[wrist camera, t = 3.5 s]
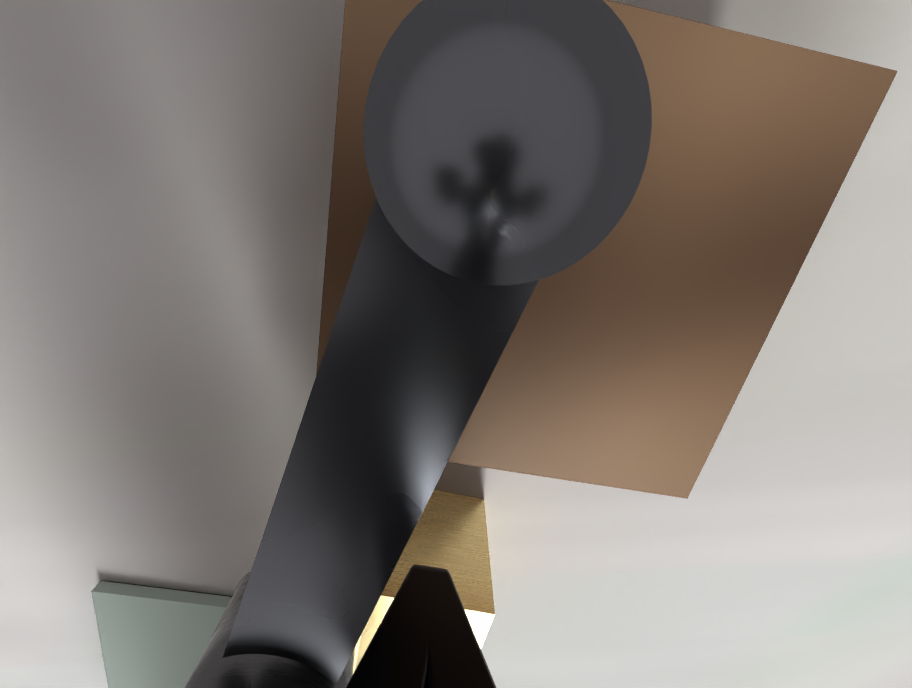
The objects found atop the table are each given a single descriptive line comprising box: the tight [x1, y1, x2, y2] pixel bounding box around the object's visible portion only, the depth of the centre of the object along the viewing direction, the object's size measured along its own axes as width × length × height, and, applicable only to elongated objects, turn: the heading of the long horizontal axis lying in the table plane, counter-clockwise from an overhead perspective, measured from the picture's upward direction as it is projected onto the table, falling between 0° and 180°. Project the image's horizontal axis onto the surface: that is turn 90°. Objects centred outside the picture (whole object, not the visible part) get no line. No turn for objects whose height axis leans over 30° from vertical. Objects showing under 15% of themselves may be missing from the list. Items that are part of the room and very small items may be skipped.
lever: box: [185, 0, 652, 688], centre depth 6 cm, size 11×3×2 cm, turn 157°
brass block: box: [354, 490, 495, 671], centre depth 13 cm, size 6×4×4 cm
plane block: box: [316, 0, 897, 498], centre depth 9 cm, size 7×7×4 cm
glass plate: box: [92, 581, 232, 688], centre depth 16 cm, size 8×7×1 cm
